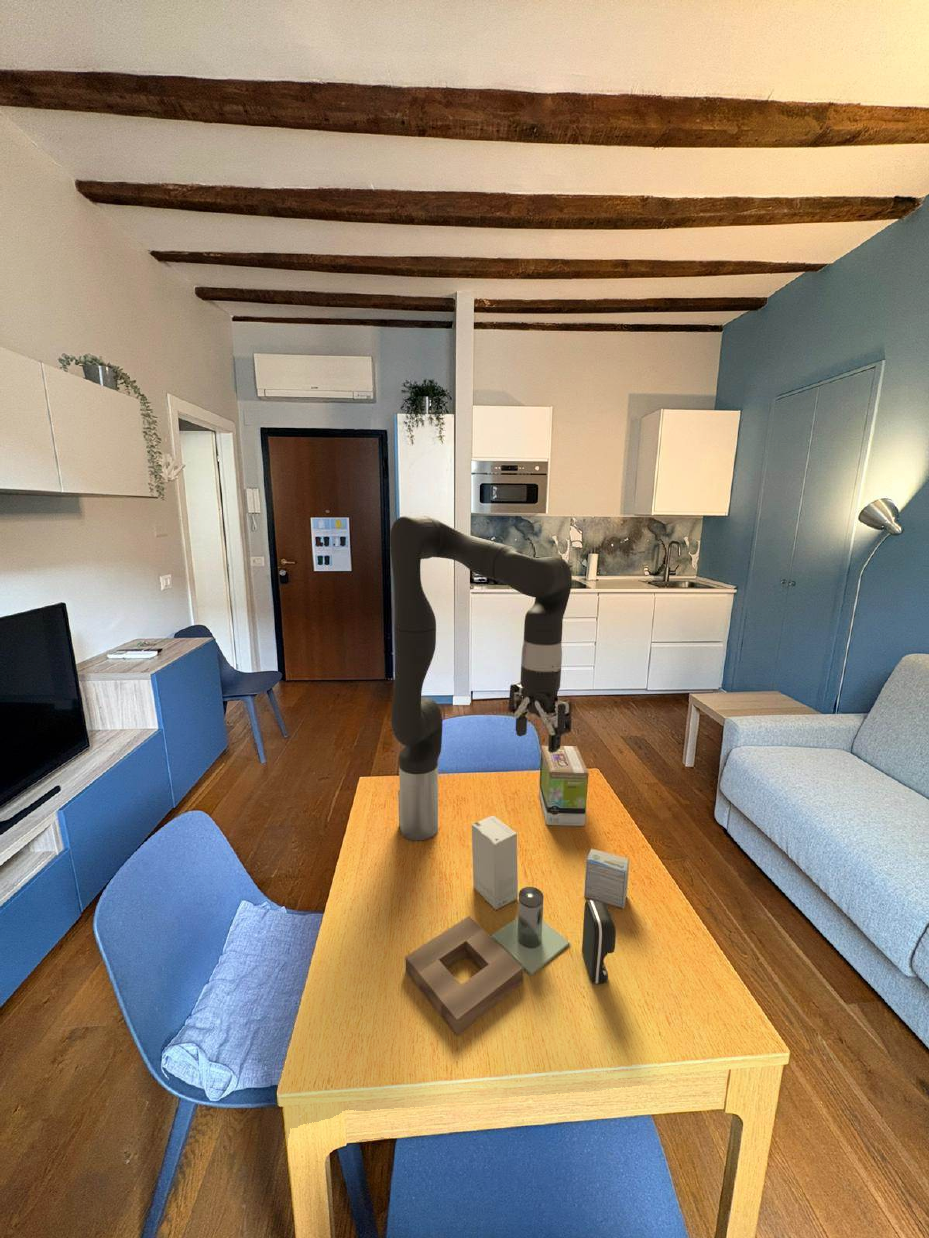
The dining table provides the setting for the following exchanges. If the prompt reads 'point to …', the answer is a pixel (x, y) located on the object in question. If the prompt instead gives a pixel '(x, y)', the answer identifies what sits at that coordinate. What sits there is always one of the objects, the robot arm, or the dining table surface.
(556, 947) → the mat
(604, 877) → the medicine box
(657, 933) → the dining table surface
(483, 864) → the skincare box
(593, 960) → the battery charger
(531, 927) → the shiny metal cylinder
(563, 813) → the tea box
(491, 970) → the bore block
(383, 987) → the dining table surface
